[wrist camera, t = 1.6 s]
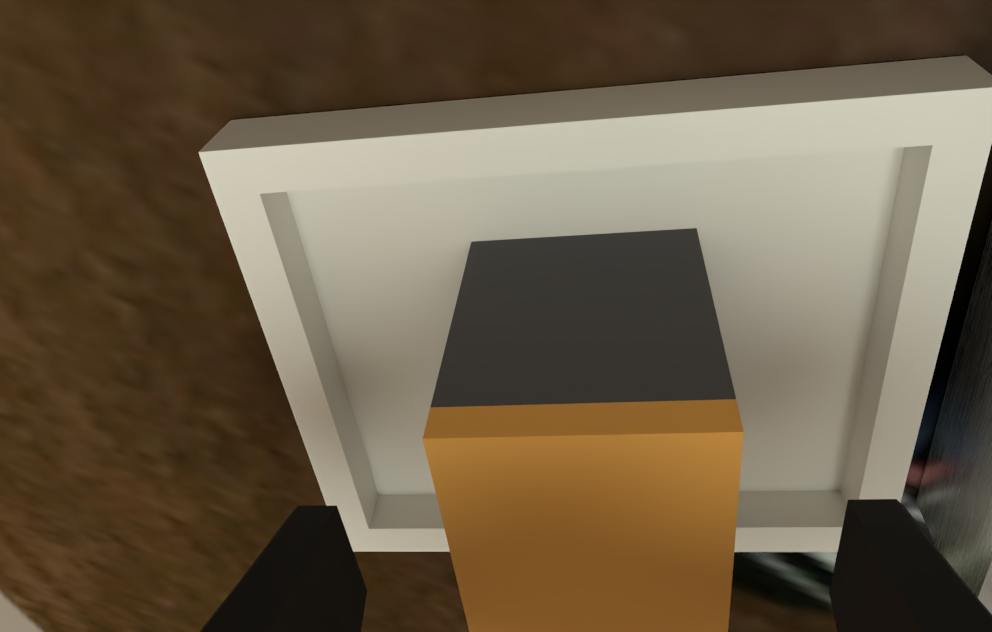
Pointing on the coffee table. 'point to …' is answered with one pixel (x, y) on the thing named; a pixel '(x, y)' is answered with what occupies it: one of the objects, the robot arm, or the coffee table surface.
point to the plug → (588, 437)
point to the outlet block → (965, 449)
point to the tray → (616, 209)
